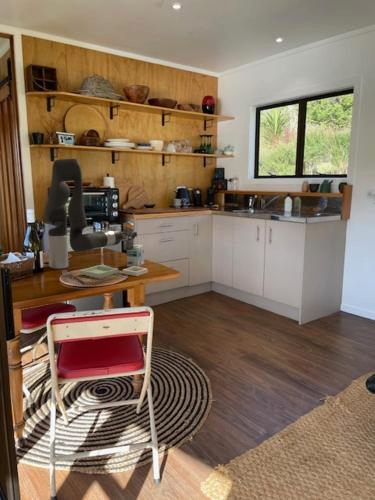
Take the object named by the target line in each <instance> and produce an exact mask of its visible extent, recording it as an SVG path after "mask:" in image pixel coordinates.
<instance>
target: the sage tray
mask: <svg viewBox="0 0 375 500" xmlns="http://www.w3.org/2000/svg"><path fill="white" fill-rule="evenodd" d="M117 273H118V274H119V268H118V267H117V268H116V267H111V266H107V265H106V266H105V265H100V264H99V265H95V266H90V267H88V268H87V267H86V268H83V269H80V270H79V275H80V274H81V275H80V276H82V275H86V276H85V277H87V276H90V277H89V278H92V277H94V279H97V278H98V280H101V278H102V279H105V278H108V277H111V276H114V275H113V274H115V275H117ZM110 275H111V276H110ZM107 276H108V277H107ZM104 277H105V278H104Z"/></svg>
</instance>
